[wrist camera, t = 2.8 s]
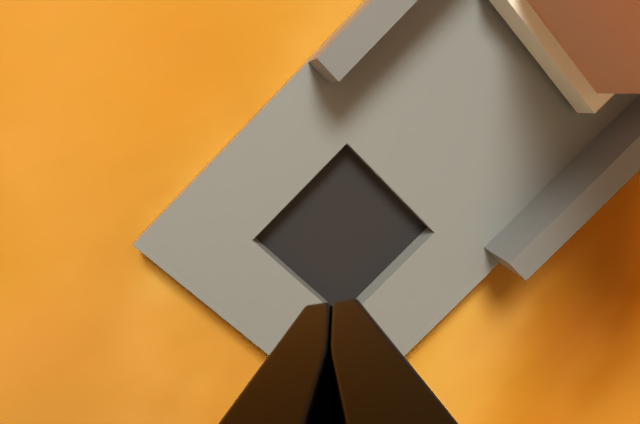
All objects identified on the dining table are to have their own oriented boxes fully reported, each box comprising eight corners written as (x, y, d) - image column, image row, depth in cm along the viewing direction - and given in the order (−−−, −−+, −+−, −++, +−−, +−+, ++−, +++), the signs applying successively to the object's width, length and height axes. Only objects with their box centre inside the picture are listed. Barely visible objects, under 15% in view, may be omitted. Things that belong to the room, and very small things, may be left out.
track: (338, 401, 22) (354, 448, 19) (138, 237, 19) (119, 263, 16) (863, -115, 20) (966, -149, 17) (732, -383, 17) (830, -479, 14)
